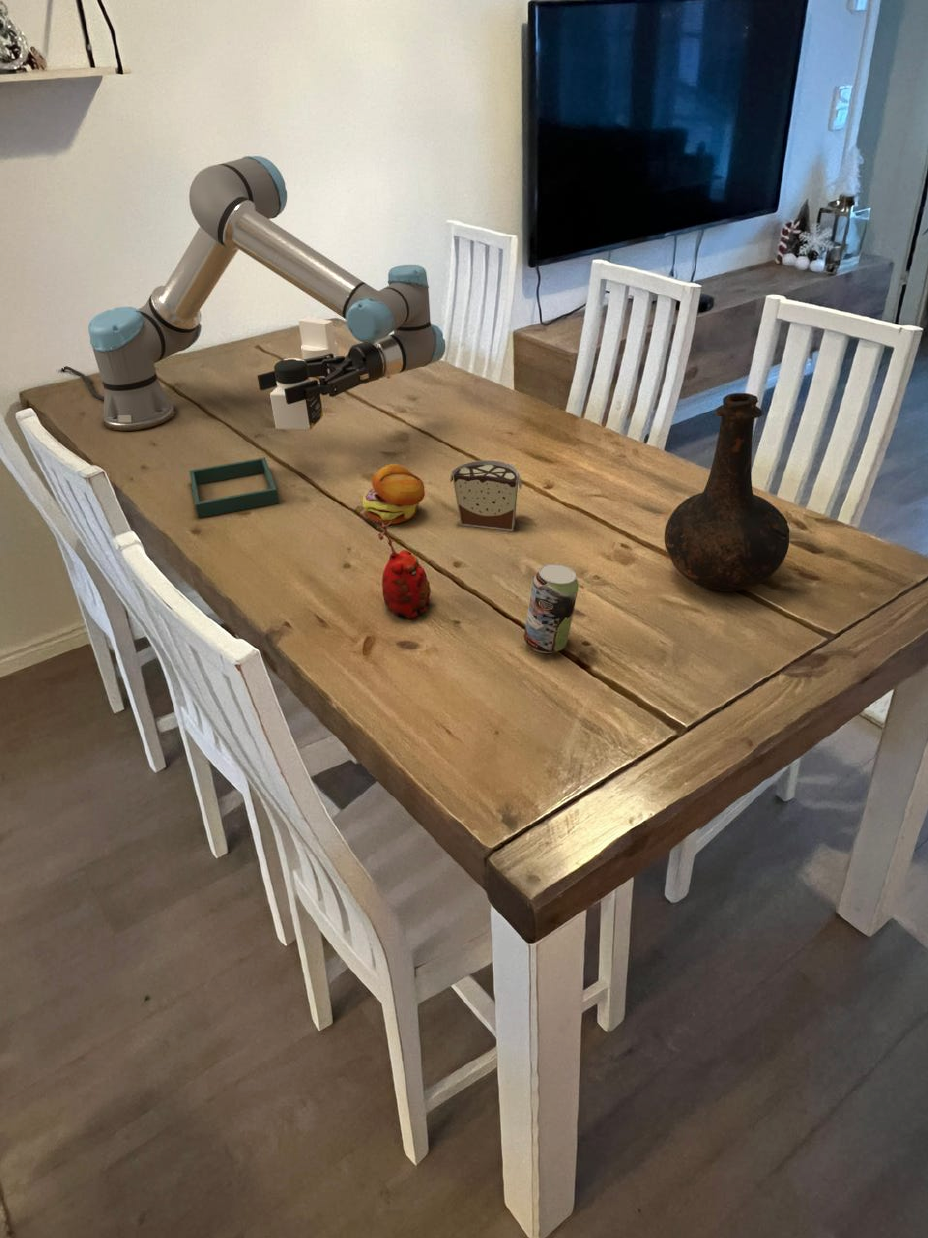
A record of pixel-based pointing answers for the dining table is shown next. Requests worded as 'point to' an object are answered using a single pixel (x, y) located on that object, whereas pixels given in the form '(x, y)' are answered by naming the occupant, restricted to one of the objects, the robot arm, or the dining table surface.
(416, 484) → the cheeseburger
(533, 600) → the beverage can
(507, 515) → the cream brown domed block
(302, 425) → the medicine bottle
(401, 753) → the dining table surface
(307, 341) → the base with upright slab
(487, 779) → the dining table surface
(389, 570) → the red clay folk toy
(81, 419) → the dining table surface
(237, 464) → the tray
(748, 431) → the glass bottle
